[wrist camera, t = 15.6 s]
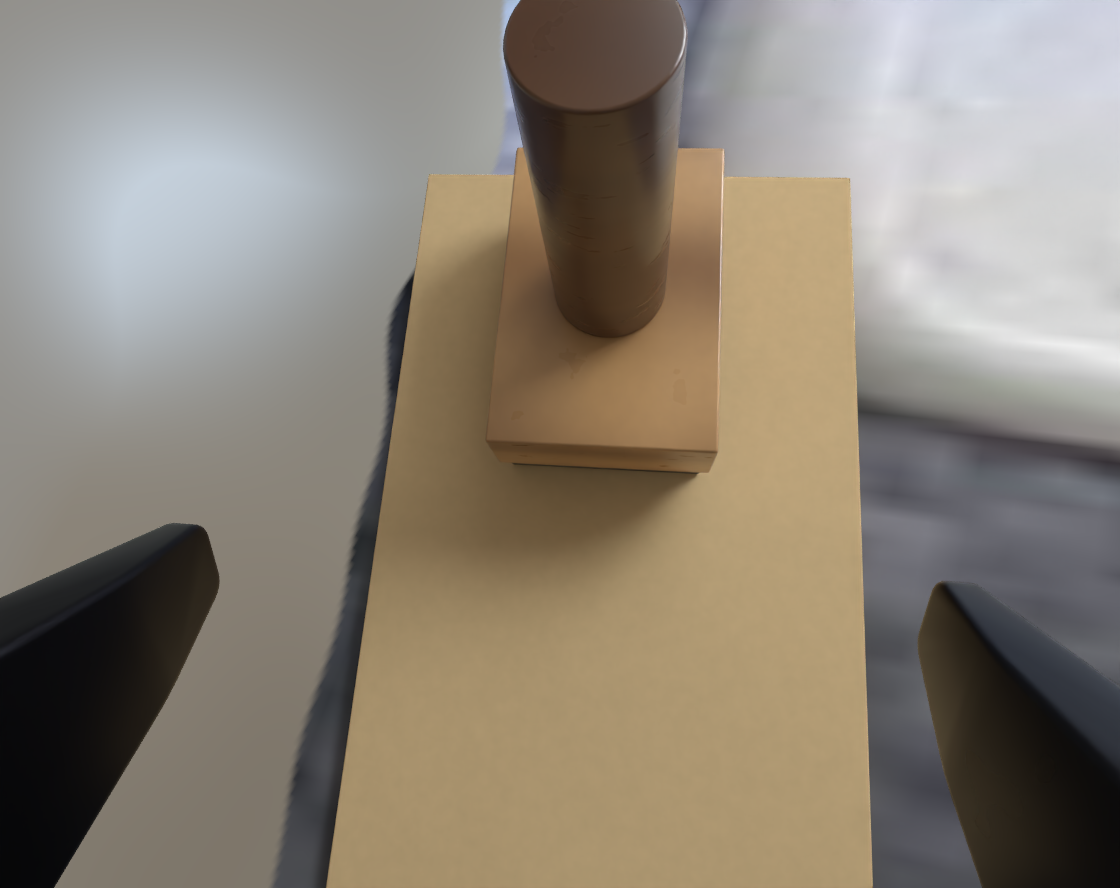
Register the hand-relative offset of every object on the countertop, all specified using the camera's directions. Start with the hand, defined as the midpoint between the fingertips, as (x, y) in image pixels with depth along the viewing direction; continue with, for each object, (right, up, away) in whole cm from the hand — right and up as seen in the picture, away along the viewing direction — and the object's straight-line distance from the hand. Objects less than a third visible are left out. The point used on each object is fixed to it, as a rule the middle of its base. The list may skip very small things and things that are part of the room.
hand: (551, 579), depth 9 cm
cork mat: (+2, 0, +13) cm, 13 cm away
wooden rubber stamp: (+2, +5, +14) cm, 15 cm away
